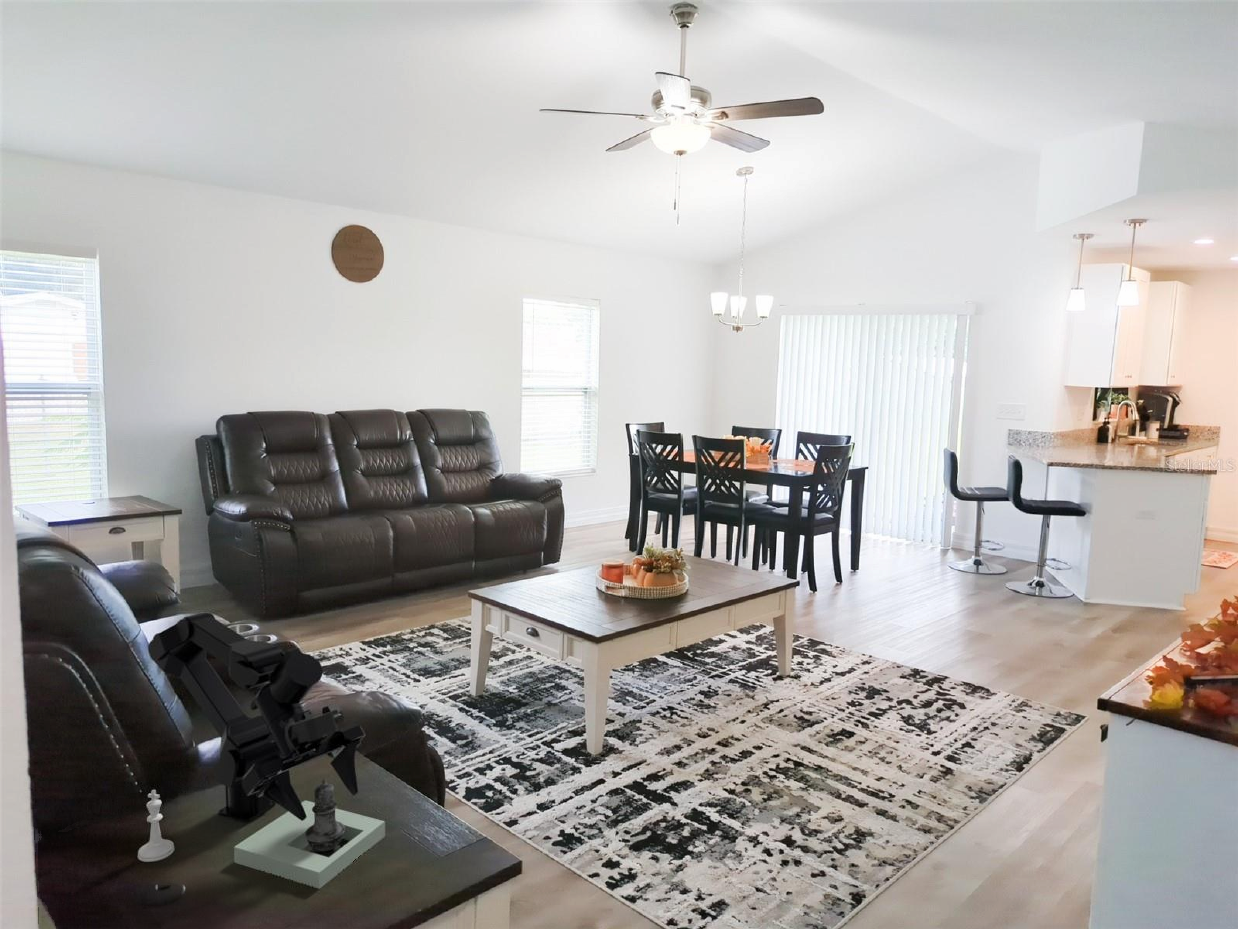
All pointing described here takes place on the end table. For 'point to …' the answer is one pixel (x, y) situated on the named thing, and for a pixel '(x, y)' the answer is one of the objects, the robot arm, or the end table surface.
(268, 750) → the robot arm
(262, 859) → the socket board
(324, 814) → the grey stone chess bishop
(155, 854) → the chess piece
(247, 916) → the end table surface
